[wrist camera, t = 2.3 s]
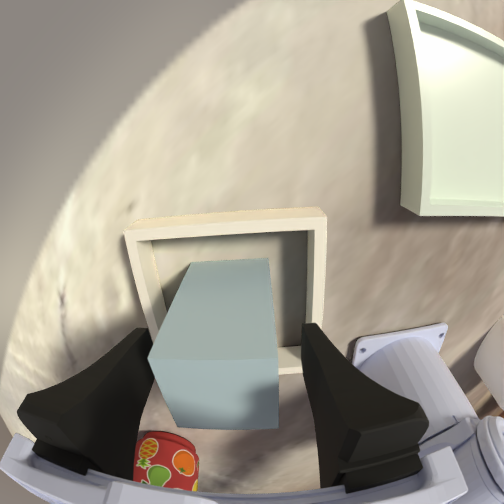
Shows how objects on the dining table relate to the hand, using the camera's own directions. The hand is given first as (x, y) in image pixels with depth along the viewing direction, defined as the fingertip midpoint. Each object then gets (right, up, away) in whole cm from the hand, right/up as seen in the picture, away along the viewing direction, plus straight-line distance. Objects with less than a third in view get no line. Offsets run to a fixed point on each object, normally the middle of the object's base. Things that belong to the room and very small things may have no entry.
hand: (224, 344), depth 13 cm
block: (0, +2, +4) cm, 5 cm away
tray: (+15, +13, 0) cm, 20 cm away
